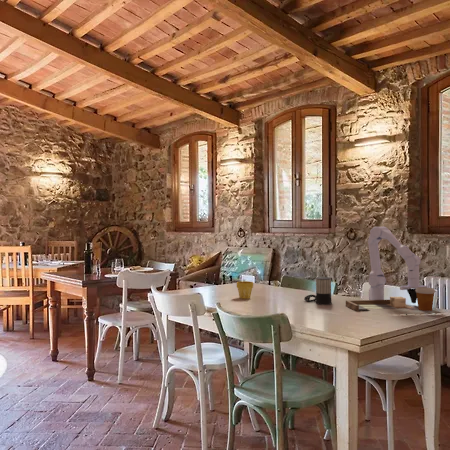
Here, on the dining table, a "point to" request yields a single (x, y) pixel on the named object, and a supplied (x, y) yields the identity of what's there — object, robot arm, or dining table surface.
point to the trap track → (371, 305)
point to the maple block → (398, 301)
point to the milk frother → (321, 291)
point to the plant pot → (244, 289)
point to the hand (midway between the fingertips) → (413, 302)
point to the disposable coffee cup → (425, 298)
